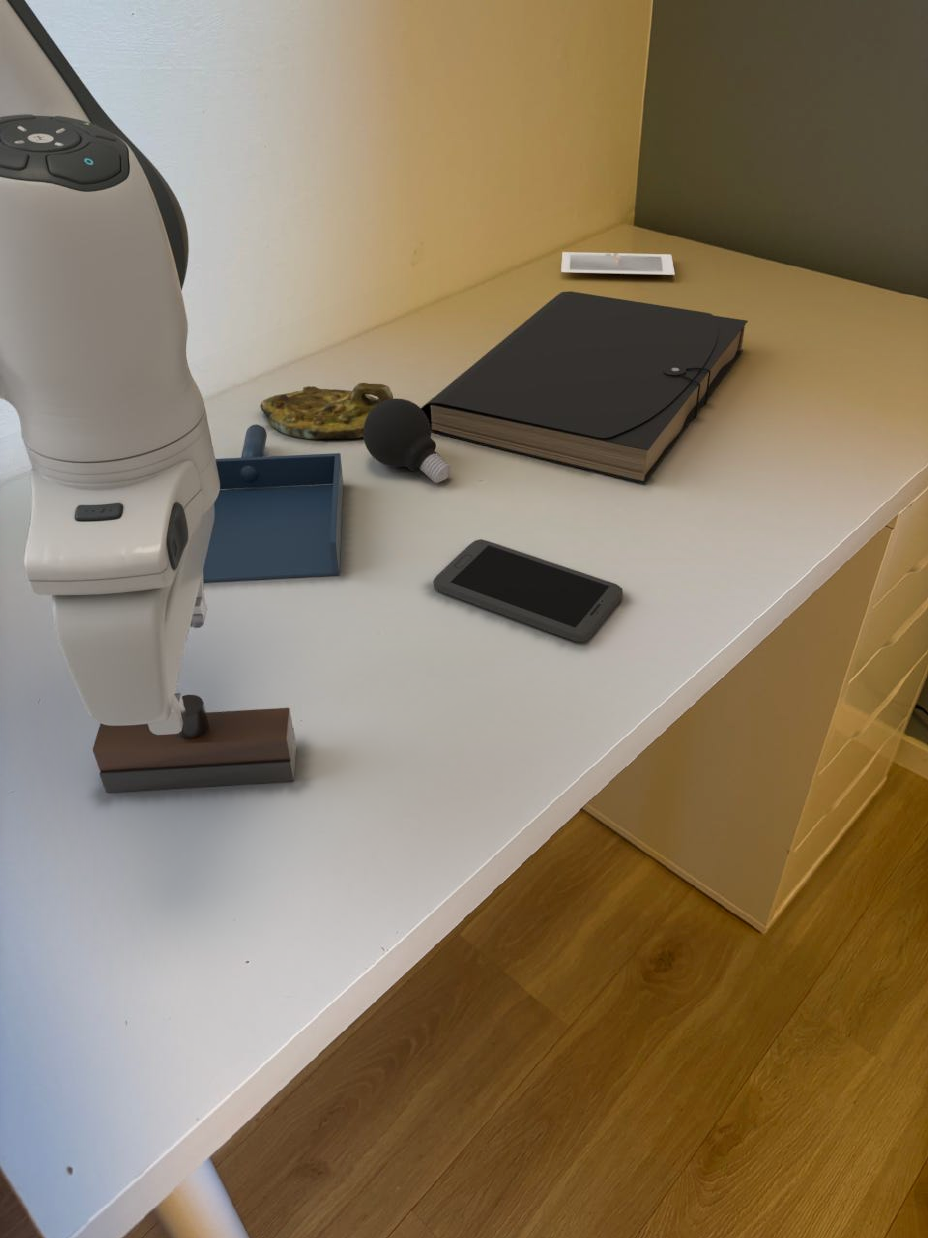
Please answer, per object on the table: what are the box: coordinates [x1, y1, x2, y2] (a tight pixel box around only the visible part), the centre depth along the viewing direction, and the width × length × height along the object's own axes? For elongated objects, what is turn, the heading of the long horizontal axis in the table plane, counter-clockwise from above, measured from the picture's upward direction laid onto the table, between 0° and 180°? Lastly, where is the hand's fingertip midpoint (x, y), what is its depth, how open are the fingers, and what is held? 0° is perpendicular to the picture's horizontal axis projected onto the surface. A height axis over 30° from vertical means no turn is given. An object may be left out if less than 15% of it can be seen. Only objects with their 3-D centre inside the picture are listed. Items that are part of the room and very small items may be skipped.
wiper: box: [92, 694, 297, 794], centre depth 64 cm, size 3×12×6 cm, turn 94°
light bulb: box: [363, 398, 451, 484], centre depth 94 cm, size 6×6×10 cm
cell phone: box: [432, 538, 624, 643], centre depth 79 cm, size 7×14×1 cm, turn 58°
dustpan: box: [203, 424, 344, 583], centre depth 89 cm, size 22×17×3 cm
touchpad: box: [560, 251, 676, 276], centre depth 135 cm, size 8×15×2 cm, turn 84°
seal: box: [259, 382, 394, 440], centre depth 102 cm, size 9×5×15 cm
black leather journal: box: [420, 290, 749, 484], centre depth 107 cm, size 33×4×24 cm
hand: (181, 670), depth 60 cm, fingers open, 8 cm apart
